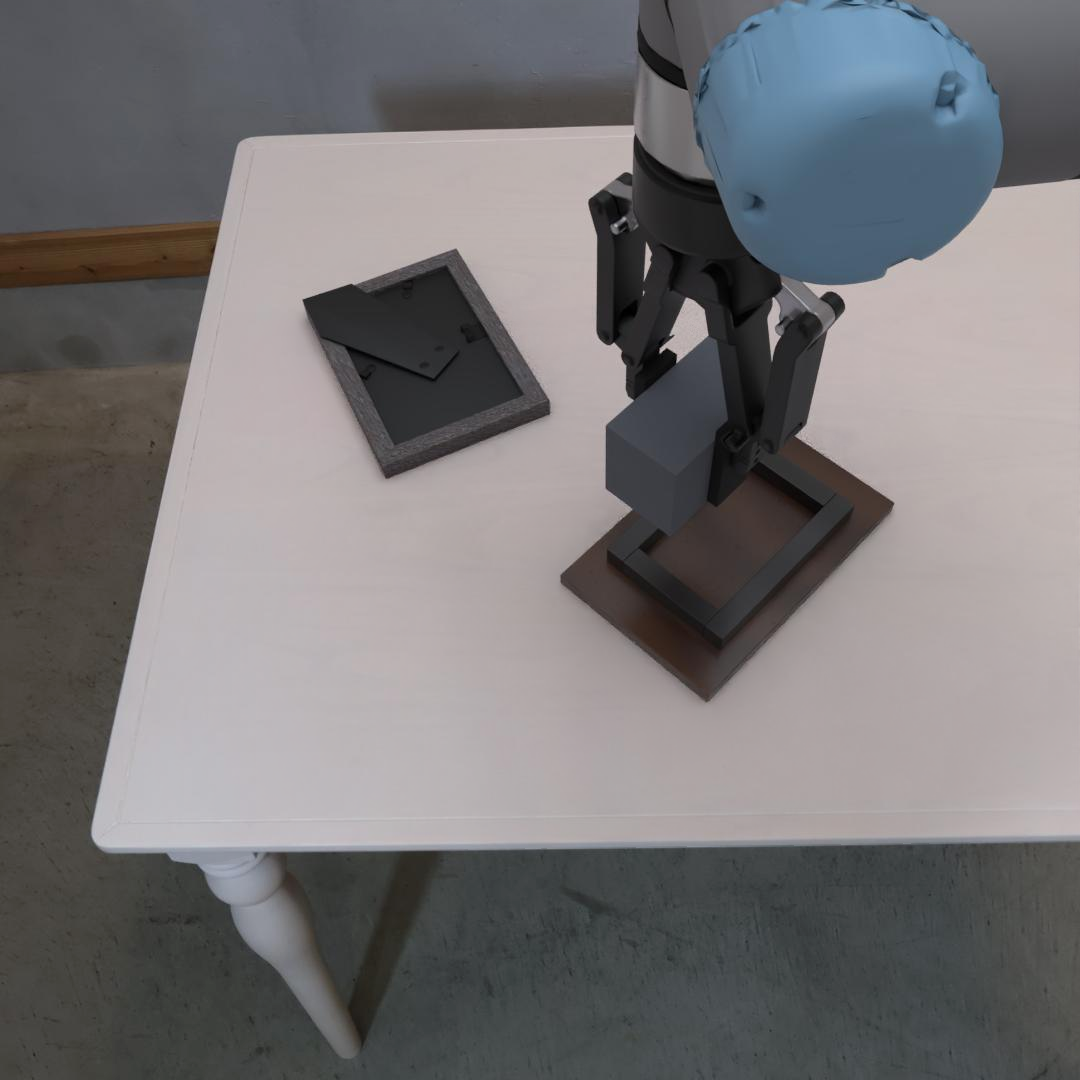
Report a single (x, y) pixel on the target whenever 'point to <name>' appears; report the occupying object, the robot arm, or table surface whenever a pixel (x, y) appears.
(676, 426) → the pad block
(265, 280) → the table surface
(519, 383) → the picture frame
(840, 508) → the back plate
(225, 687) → the table surface
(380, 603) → the table surface
